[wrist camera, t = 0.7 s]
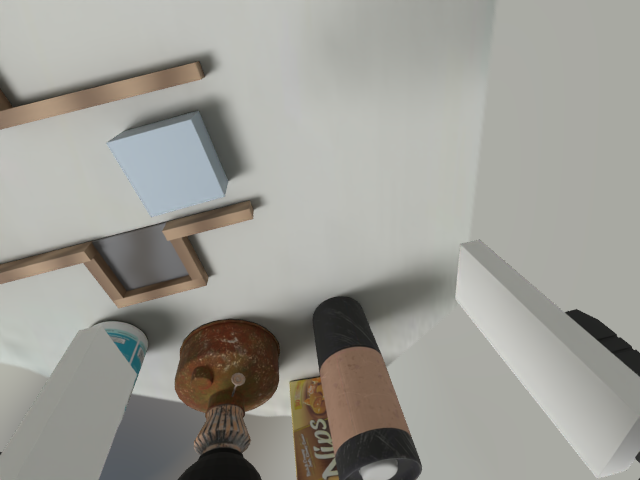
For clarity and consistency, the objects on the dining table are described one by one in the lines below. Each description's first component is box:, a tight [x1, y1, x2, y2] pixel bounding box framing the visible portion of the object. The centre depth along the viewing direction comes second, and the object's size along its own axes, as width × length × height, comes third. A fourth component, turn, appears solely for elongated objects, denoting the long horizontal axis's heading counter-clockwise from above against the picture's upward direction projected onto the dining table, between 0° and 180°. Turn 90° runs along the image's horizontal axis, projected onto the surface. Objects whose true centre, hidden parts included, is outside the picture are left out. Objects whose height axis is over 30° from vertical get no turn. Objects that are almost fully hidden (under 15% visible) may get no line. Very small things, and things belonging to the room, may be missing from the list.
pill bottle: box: [91, 321, 148, 424], centre depth 36 cm, size 8×7×14 cm
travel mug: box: [313, 297, 422, 480], centre depth 37 cm, size 8×8×20 cm
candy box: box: [290, 377, 339, 480], centre depth 46 cm, size 9×4×15 cm, turn 93°
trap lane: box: [0, 61, 254, 308], centre depth 28 cm, size 33×28×5 cm
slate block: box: [107, 110, 228, 217], centre depth 29 cm, size 7×7×4 cm
